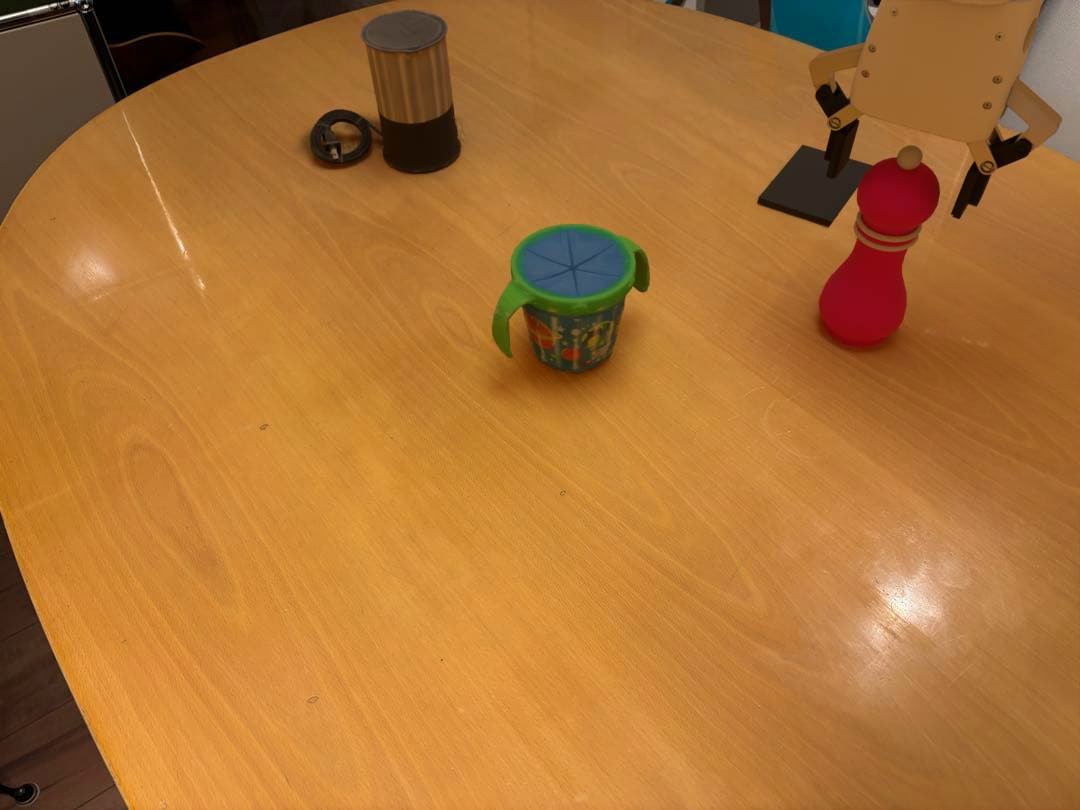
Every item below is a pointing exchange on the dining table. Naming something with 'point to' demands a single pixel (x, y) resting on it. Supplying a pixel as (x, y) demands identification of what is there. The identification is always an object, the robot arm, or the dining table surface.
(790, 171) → the mat
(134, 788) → the dining table surface
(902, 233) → the pepper mill
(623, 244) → the snack cup
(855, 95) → the robot arm
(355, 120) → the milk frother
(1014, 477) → the dining table surface
